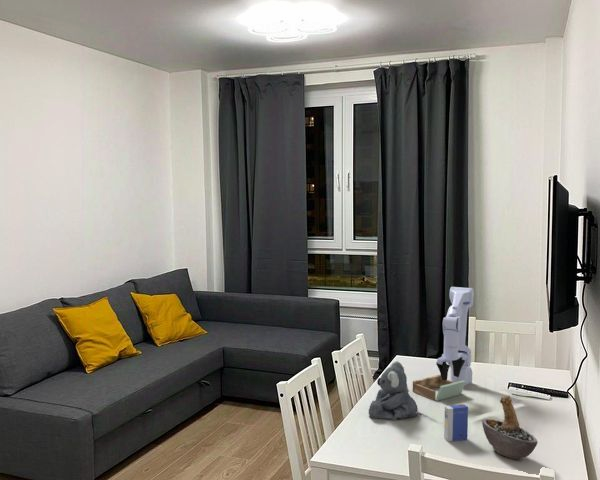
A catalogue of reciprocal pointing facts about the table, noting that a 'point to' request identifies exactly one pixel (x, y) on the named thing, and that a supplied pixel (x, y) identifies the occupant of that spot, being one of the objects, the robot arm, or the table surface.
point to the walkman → (456, 422)
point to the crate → (429, 386)
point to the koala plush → (393, 395)
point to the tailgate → (450, 390)
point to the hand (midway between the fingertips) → (450, 378)
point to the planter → (509, 434)
